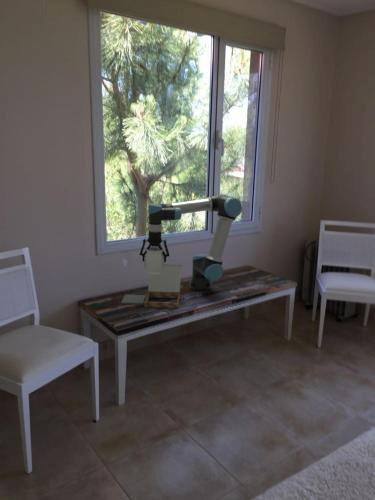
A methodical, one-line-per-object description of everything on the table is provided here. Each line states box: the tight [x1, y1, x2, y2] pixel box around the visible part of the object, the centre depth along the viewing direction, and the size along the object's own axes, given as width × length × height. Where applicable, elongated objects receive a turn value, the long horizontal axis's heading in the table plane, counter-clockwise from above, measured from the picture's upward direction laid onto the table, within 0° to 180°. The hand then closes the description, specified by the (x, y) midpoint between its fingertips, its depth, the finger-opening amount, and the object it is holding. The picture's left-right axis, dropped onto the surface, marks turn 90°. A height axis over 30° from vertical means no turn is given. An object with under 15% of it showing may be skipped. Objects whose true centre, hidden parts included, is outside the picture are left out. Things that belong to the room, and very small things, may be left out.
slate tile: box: [120, 294, 147, 306], centre depth 257 cm, size 13×13×1 cm
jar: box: [145, 246, 164, 275], centre depth 249 cm, size 11×10×15 cm
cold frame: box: [144, 291, 181, 309], centre depth 255 cm, size 20×17×3 cm
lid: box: [148, 263, 182, 293], centre depth 263 cm, size 20×17×1 cm
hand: (154, 267), depth 250 cm, fingers closed on jar, 10 cm apart
